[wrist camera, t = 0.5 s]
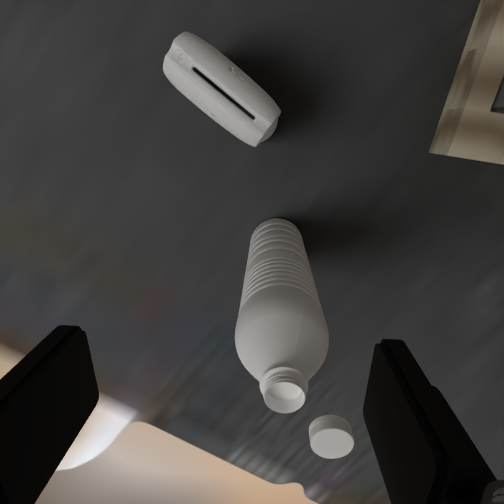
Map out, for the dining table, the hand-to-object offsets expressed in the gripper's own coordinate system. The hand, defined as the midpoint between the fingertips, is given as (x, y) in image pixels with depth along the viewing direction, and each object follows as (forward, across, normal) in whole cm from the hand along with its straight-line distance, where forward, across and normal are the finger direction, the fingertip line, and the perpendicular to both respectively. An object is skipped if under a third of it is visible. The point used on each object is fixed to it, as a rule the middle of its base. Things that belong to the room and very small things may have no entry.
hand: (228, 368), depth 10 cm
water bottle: (+30, -3, +7) cm, 31 cm away
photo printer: (+30, +3, -10) cm, 32 cm away
